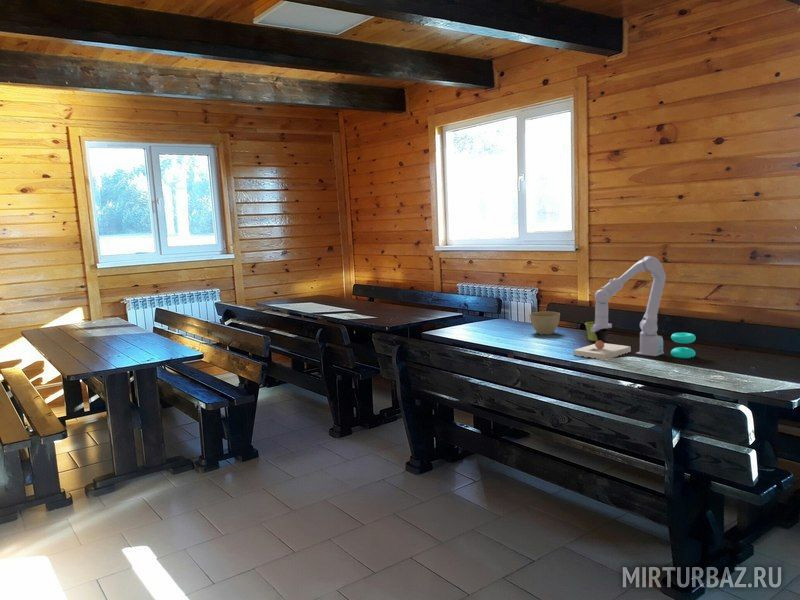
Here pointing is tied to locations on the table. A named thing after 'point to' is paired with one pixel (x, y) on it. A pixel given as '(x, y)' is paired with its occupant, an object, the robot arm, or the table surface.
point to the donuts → (682, 351)
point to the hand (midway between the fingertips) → (601, 345)
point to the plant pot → (591, 335)
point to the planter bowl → (545, 322)
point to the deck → (602, 351)
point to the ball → (599, 344)
